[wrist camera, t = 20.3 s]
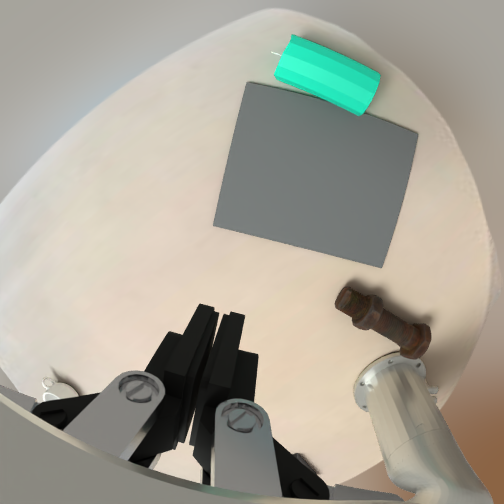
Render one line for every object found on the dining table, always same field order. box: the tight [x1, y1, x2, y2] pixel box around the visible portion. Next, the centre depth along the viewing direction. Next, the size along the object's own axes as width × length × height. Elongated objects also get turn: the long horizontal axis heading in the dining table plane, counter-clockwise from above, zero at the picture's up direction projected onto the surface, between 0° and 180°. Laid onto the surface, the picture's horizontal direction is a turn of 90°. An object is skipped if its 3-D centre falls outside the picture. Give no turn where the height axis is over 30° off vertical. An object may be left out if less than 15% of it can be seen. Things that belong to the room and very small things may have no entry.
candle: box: [271, 34, 381, 116], centre depth 29 cm, size 6×6×12 cm
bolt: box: [335, 287, 431, 360], centre depth 37 cm, size 6×5×15 cm
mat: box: [213, 82, 418, 268], centre depth 34 cm, size 22×18×1 cm
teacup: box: [42, 377, 79, 402], centre depth 46 cm, size 10×8×5 cm
